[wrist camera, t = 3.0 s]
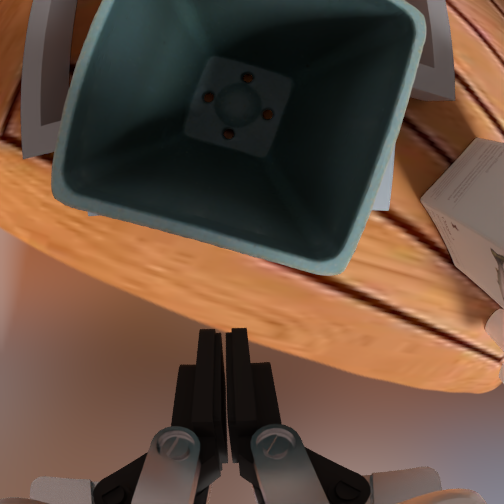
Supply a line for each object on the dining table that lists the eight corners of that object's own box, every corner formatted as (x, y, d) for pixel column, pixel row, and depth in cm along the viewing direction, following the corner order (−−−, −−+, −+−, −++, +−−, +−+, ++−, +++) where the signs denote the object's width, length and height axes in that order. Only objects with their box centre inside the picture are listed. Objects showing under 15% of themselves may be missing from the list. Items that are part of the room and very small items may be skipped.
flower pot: (185, 16, 12) (140, -72, 3) (338, 61, 13) (432, 15, 5) (138, 161, 15) (46, 202, 7) (289, 203, 16) (342, 282, 8)
